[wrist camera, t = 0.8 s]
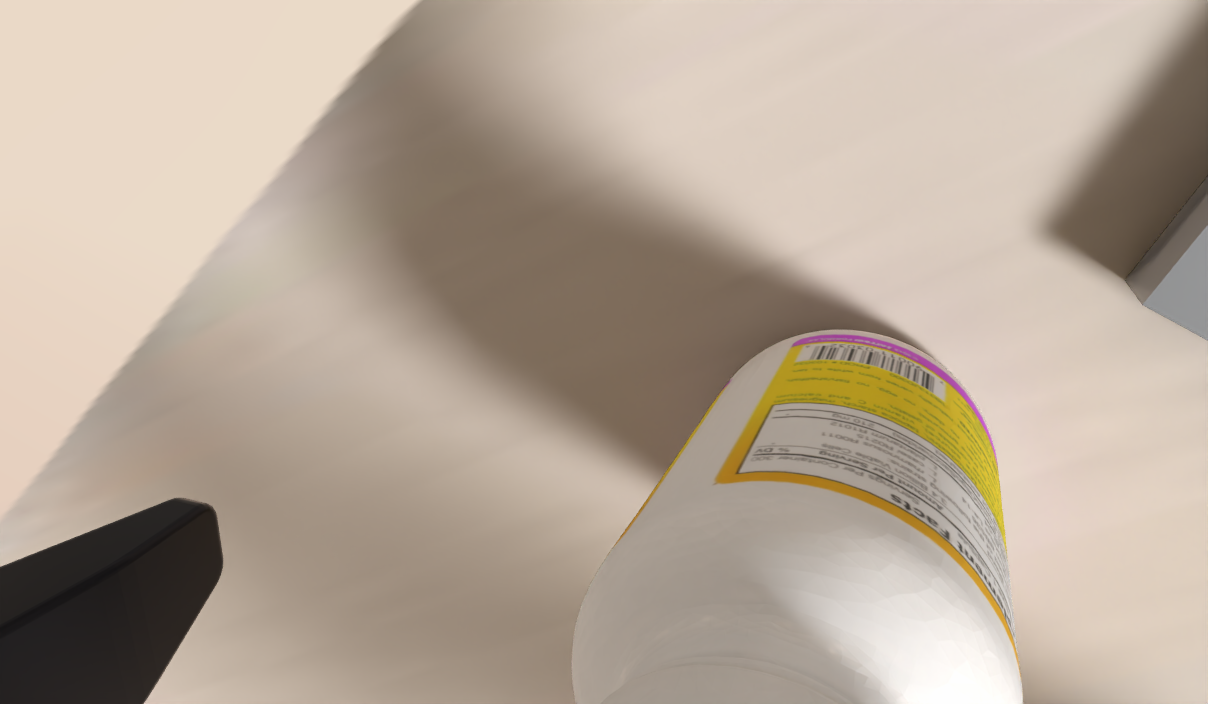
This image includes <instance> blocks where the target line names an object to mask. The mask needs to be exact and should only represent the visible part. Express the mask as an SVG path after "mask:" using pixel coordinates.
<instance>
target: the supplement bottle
mask: <svg viewBox="0 0 1208 704" xmlns="http://www.w3.org/2000/svg"><path fill="white" fill-rule="evenodd" d="M571 666H572V683H573V691H574V697H575V703H576V704H1023V692H1022V683H1021V674H1020V665H1019V658H1018V650H1017V641H1016V633H1015V625H1014V615H1013V605H1012V596H1011V585H1010V576H1009V568H1008V560H1007V549H1006V540H1005V529H1004V521H1003V512H1002V503H1001V491H1000V482H999V474H998V466H997V459H996V453H995V449H994V445H993V441H992V437H991V434H990V431H989V428H988V425H987V423H986V421H985V419H984V417H983V415H982V412H981V410H980V409H979V407H978V405H977V404H976V402H975V401H974V400H973V398H972V397H971V395H970V394H969V393H968V391H967V390H966V389H965V387H964V386H963V385H962V384H961V383H960V381H959V380H958V379H957V378H956V377H955V376H954V375H953V374H952V373H951V372H950V371H948V370H947V369H946V368H945V367H944V366H942V365H941V364H940V363H939V362H937V361H936V360H934V359H933V358H931V357H930V356H928V355H927V354H926V353H924V352H922V351H920V350H918V349H917V348H915V347H913V346H911V345H908V344H906V343H904V342H901V341H899V340H896V339H894V338H891V337H887V336H884V335H880V334H876V333H871V332H865V331H857V330H822V331H815V332H810V333H805V334H801V335H797V336H794V337H791V338H788V339H785V340H783V341H780V342H778V343H776V344H774V345H772V346H770V347H768V348H766V349H765V350H763V351H762V352H760V353H759V354H757V355H756V356H754V357H753V358H752V359H750V360H749V361H748V362H747V363H746V364H745V365H744V366H742V367H741V368H740V369H739V370H738V371H737V372H736V373H735V375H734V376H733V377H732V378H731V379H730V380H729V382H728V383H727V384H726V385H725V387H724V388H723V389H722V391H721V392H720V393H719V395H718V396H717V397H716V399H715V400H714V402H713V403H712V405H711V406H710V408H709V409H708V410H707V412H706V413H705V415H704V416H703V418H702V420H701V421H700V423H699V424H698V426H697V427H696V429H695V430H694V431H693V433H692V434H691V436H690V437H689V439H688V440H687V442H686V443H685V445H684V446H683V448H682V449H681V451H680V452H679V453H678V455H677V456H676V458H675V459H674V461H673V462H672V464H671V465H670V466H669V468H668V469H667V471H666V472H665V474H664V475H663V477H662V478H661V480H660V481H659V483H658V484H657V485H656V487H655V488H654V490H653V491H652V493H651V494H650V496H649V497H648V499H647V500H646V501H645V503H644V504H643V506H642V507H641V509H640V510H639V512H638V513H637V515H636V516H635V517H634V519H633V520H632V522H631V523H630V524H629V526H628V527H627V529H626V530H625V531H624V533H623V534H622V536H621V537H620V538H619V540H618V541H617V543H616V544H615V545H614V547H613V548H612V550H611V551H610V552H609V554H608V555H607V557H606V559H605V560H604V562H603V563H602V565H601V567H600V568H599V570H598V572H597V573H596V575H595V577H594V578H593V580H592V582H591V584H590V586H589V588H588V591H587V593H586V595H585V598H584V600H583V602H582V605H581V608H580V611H579V615H578V618H577V621H576V626H575V632H574V639H573V645H572V663H571Z"/></svg>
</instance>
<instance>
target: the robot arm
mask: <svg viewBox="0 0 1208 704" xmlns="http://www.w3.org/2000/svg"><path fill="white" fill-rule="evenodd" d="M222 569H223V554H222V547H221V540H220V533H219V527H218V520H217V515H216V511H215V510H214V508H213V507H212V506H211V505H209V504H207V503H203V502H198V501H194V500H190V499H186V498H174V499H171V500H168V501H166V502H163V503H161V504H158V505H156V506H153V507H151V508H148V509H146V510H143V511H140V512H138V513H135V514H133V515H130V516H128V517H125V518H123V519H120V520H118V521H115V522H113V523H110V524H108V525H105V526H103V527H100V528H98V529H95V530H92V531H90V532H87V533H85V534H82V535H80V536H77V537H75V538H72V539H70V540H67V541H65V542H62V543H60V544H57V545H55V546H52V547H50V548H47V549H44V550H42V551H39V552H37V553H34V554H32V555H29V556H27V557H24V558H22V559H19V560H17V561H14V562H12V563H9V564H7V565H4V566H1V567H0V704H144V702H145V701H146V699H147V698H148V696H149V695H150V693H151V692H152V690H153V688H154V687H155V685H156V684H157V682H158V681H159V679H160V677H161V676H162V674H163V672H164V671H165V669H166V667H167V666H168V664H169V662H170V661H171V659H172V658H173V656H174V654H175V653H176V651H177V649H178V648H179V646H180V644H181V643H182V641H183V639H184V638H185V636H186V634H187V633H188V631H189V629H190V628H191V626H192V624H193V623H194V621H195V619H196V618H197V616H198V614H199V613H200V611H201V609H202V608H203V606H204V604H205V603H206V601H207V599H208V598H209V596H210V594H211V593H212V591H213V589H214V588H215V586H216V584H217V582H218V580H219V578H220V576H221V573H222Z"/></svg>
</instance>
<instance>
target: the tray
mask: <svg viewBox="0 0 1208 704" xmlns="http://www.w3.org/2000/svg"><path fill="white" fill-rule="evenodd" d="M1125 281H1126V283H1127V284H1128V285H1129V287H1130V288H1131V290H1132V291H1133V292H1134V294H1135V295H1136V297H1137V298H1138V299H1139V301H1140V302H1141V304H1142V305H1144V306H1145V307H1147V308H1149V309H1151V310H1153V311H1155V312H1156V313H1158V314H1160V315H1162V316H1164V317H1166V318H1167V319H1169V320H1171V321H1173V322H1175V323H1177V324H1178V325H1180V326H1182V327H1184V328H1186V329H1188V330H1189V331H1191V332H1193V333H1195V334H1197V335H1199V336H1200V337H1202V338H1204V339H1206V340H1208V176H1207V177H1206V179H1205V180H1204V181H1203V182H1202V184H1201V185H1200V186H1199V188H1198V189H1197V190H1196V191H1195V193H1194V194H1193V195H1192V196H1191V198H1190V199H1189V200H1188V201H1187V203H1186V204H1185V205H1184V206H1183V208H1182V209H1181V210H1180V211H1179V213H1178V214H1177V215H1176V216H1175V218H1174V219H1173V220H1172V222H1171V223H1170V224H1169V225H1168V227H1167V228H1166V229H1165V230H1164V232H1163V233H1162V234H1161V235H1160V237H1159V238H1158V239H1157V240H1156V242H1155V243H1154V244H1153V245H1152V247H1151V248H1150V249H1149V250H1148V252H1147V253H1146V254H1145V256H1144V257H1143V258H1142V259H1141V261H1140V262H1139V263H1138V264H1137V266H1136V267H1135V268H1134V269H1133V271H1132V272H1131V273H1130V274H1129V276H1128V277H1127V278H1126V279H1125Z"/></svg>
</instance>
